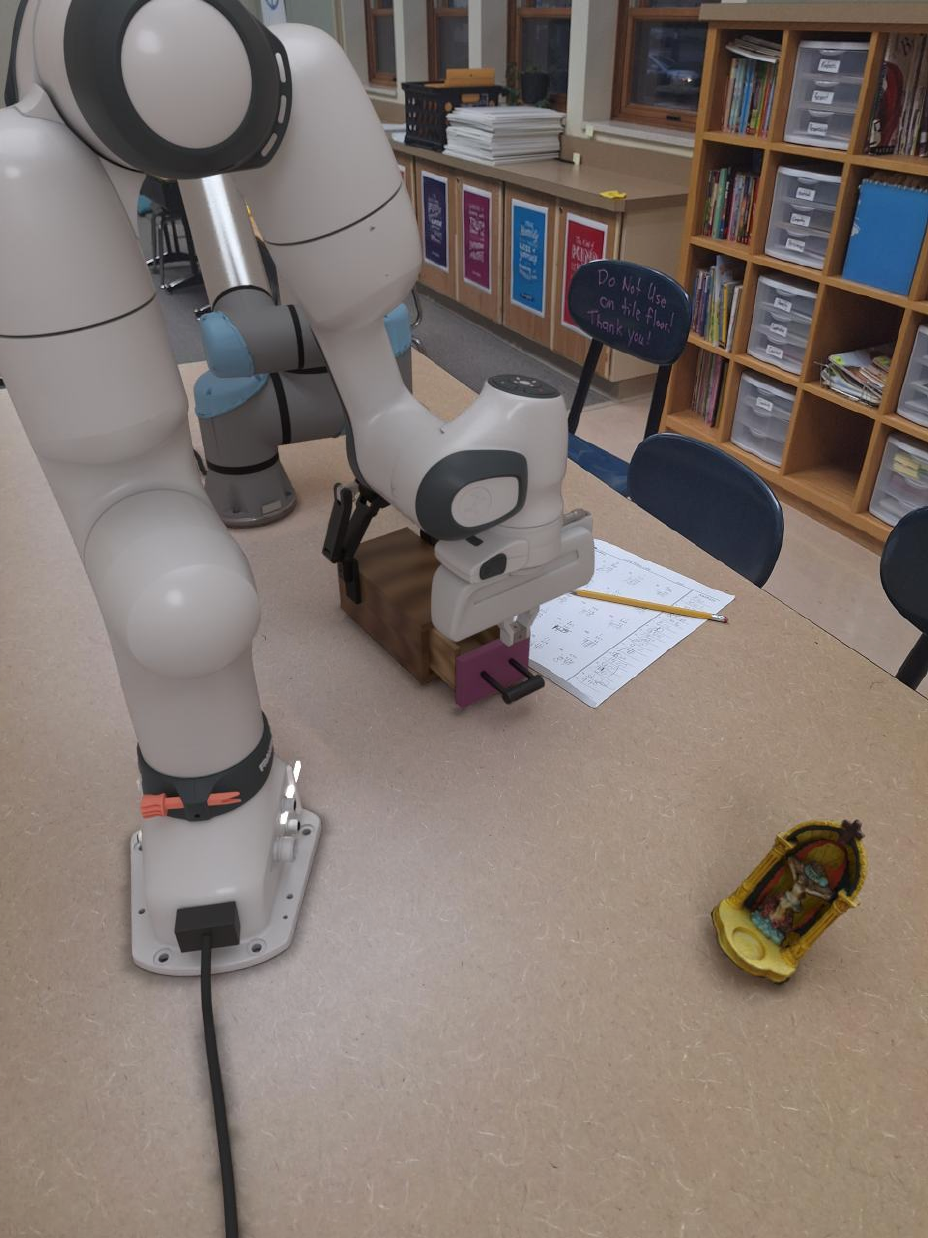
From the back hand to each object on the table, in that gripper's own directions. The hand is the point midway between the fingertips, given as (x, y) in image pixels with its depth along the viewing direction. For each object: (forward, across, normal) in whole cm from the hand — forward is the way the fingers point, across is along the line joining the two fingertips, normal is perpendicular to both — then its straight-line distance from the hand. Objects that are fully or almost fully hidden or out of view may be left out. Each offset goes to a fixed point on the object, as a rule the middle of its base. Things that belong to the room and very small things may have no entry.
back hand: (392, 584), depth 117 cm
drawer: (+3, 0, +16) cm, 17 cm away
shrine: (+4, +2, +64) cm, 64 cm away
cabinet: (+4, 0, +5) cm, 7 cm away
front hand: (-6, 0, +26) cm, 27 cm away
